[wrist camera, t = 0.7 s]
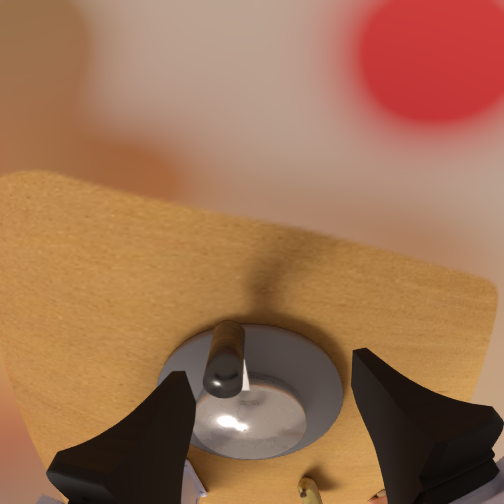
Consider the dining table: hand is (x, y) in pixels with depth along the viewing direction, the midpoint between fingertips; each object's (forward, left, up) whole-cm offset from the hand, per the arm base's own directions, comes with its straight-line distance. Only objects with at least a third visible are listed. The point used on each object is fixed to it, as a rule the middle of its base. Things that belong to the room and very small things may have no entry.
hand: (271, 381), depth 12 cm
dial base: (-10, +3, -10) cm, 14 cm away
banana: (-28, -2, -10) cm, 30 cm away
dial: (-8, +3, -8) cm, 11 cm away
